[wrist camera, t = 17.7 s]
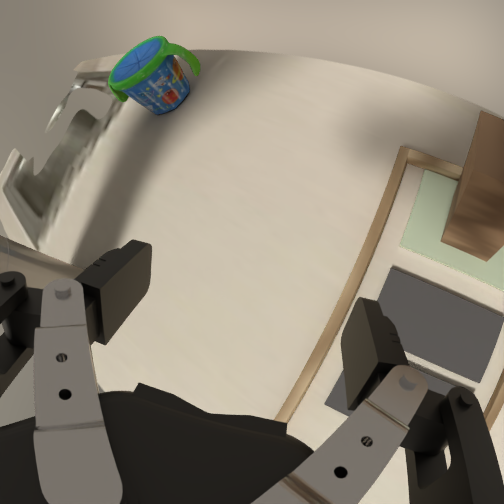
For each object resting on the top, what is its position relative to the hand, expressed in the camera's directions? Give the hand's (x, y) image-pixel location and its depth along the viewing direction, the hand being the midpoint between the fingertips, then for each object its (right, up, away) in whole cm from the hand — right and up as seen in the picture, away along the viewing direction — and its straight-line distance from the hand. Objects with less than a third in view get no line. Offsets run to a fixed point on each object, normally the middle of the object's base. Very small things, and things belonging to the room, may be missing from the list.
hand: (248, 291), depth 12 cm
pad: (+20, +4, +12) cm, 24 cm away
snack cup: (-13, +26, +34) cm, 45 cm away
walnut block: (+20, +4, +12) cm, 23 cm away
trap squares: (+14, -8, +11) cm, 19 cm away
